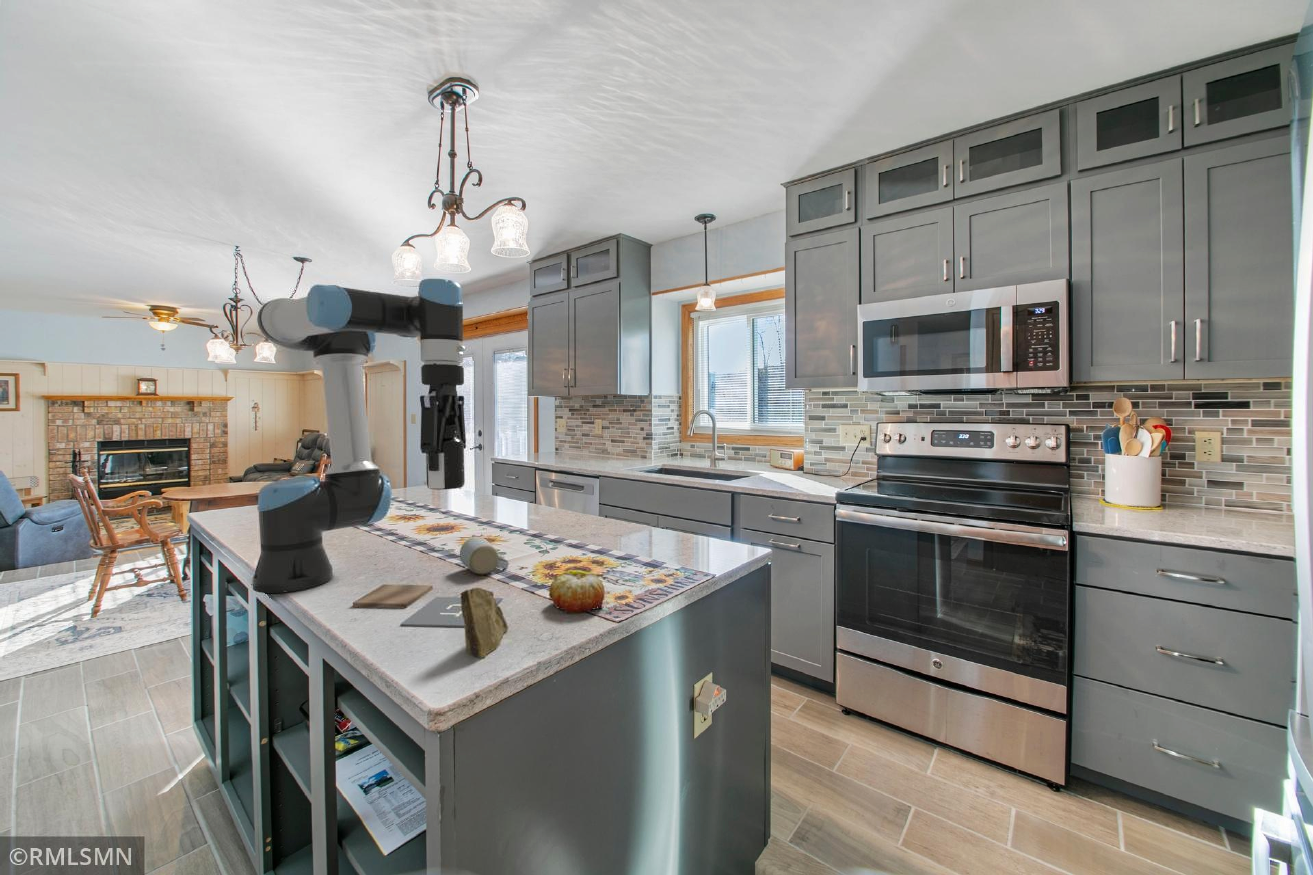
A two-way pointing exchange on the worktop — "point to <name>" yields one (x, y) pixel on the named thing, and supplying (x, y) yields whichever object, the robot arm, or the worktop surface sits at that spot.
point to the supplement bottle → (451, 459)
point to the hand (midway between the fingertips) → (445, 484)
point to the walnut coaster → (393, 596)
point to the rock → (482, 621)
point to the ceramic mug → (481, 556)
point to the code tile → (440, 613)
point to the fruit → (577, 591)
